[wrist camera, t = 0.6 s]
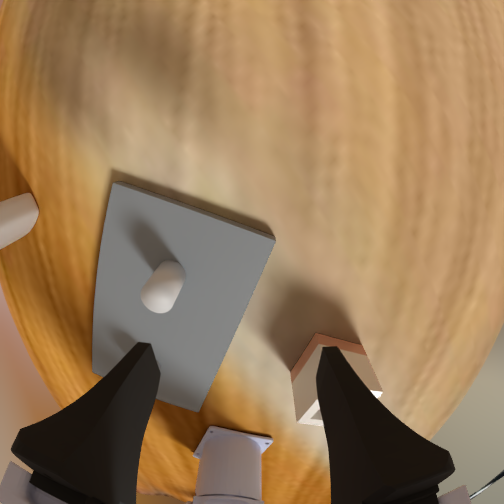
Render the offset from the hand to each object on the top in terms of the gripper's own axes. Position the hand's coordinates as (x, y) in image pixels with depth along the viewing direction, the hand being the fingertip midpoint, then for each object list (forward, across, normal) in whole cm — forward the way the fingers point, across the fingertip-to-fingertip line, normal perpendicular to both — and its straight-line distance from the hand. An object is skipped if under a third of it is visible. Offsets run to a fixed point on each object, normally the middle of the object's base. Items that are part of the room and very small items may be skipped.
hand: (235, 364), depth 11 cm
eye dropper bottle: (+11, +21, -4) cm, 23 cm away
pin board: (+10, +7, +6) cm, 13 cm away
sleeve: (+10, -7, +10) cm, 16 cm away
